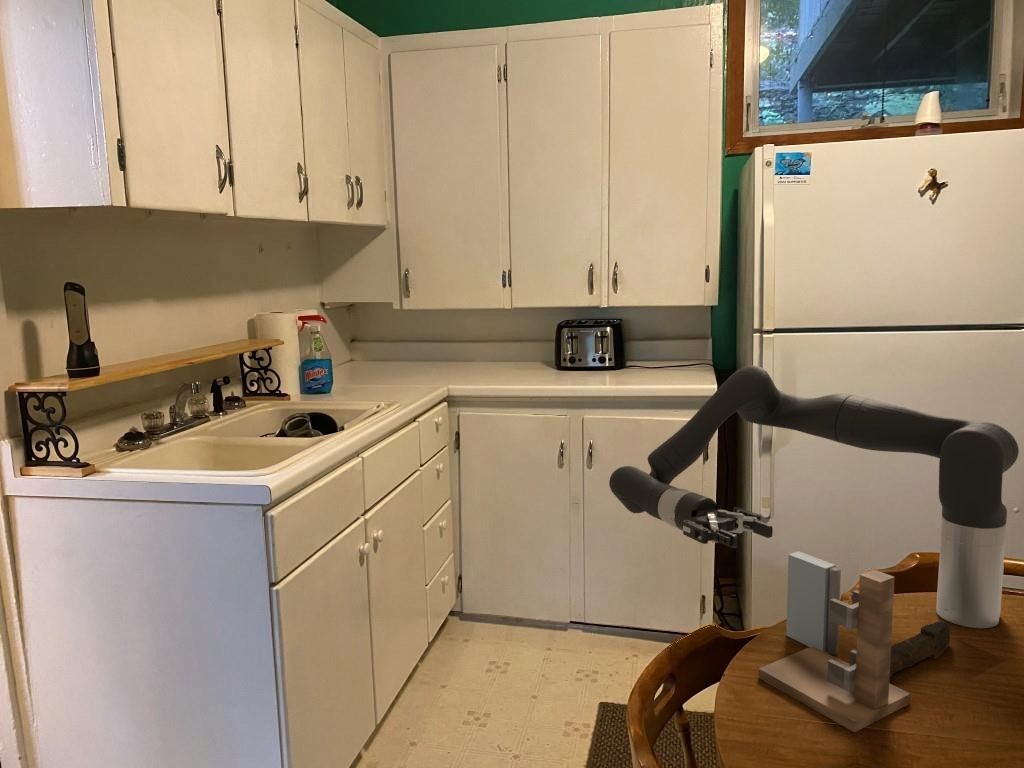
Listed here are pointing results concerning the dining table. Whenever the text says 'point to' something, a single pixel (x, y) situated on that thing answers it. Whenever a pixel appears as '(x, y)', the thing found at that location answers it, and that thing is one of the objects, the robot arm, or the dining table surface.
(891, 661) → the hand tool
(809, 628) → the cabinet door
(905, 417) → the robot arm
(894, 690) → the hinge frame
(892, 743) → the dining table surface
